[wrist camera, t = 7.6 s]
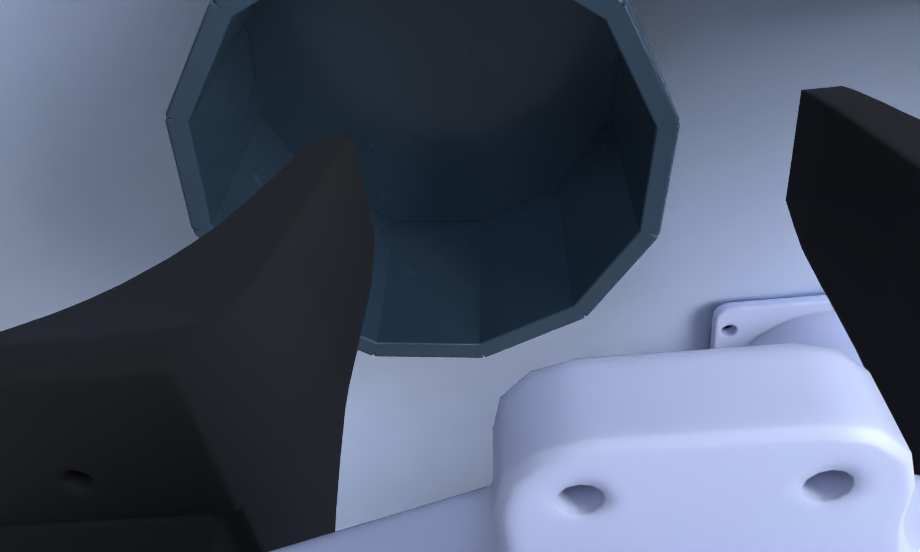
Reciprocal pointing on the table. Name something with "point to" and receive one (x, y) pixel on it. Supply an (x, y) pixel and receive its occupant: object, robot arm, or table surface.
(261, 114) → the saucepan
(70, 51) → the table surface
